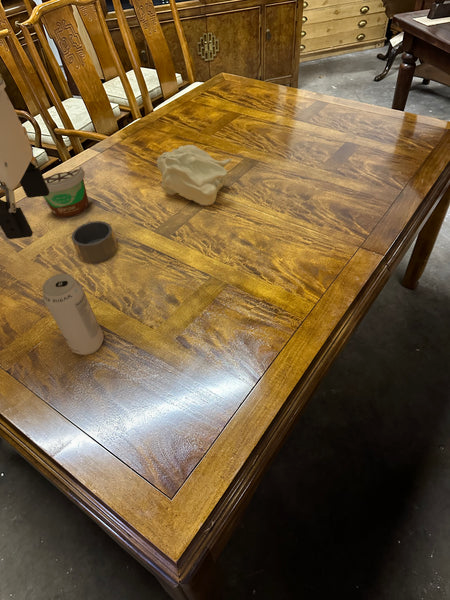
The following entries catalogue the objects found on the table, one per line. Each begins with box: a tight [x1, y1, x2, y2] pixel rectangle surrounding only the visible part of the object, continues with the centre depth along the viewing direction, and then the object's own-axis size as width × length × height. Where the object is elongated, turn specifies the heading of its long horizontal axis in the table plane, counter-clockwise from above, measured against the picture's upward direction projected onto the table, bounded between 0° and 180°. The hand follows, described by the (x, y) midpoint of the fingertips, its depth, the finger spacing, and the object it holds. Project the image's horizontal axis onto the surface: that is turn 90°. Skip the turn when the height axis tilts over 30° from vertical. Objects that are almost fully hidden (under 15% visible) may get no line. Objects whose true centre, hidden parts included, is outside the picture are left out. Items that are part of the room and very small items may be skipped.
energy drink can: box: [42, 273, 104, 356], centre depth 70 cm, size 6×6×15 cm
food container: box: [42, 166, 90, 218], centre depth 102 cm, size 12×6×10 cm, turn 114°
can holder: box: [70, 220, 119, 264], centre depth 92 cm, size 9×9×5 cm
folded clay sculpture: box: [156, 144, 232, 207], centre depth 103 cm, size 18×13×16 cm
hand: (30, 214), depth 56 cm, fingers open, 9 cm apart
